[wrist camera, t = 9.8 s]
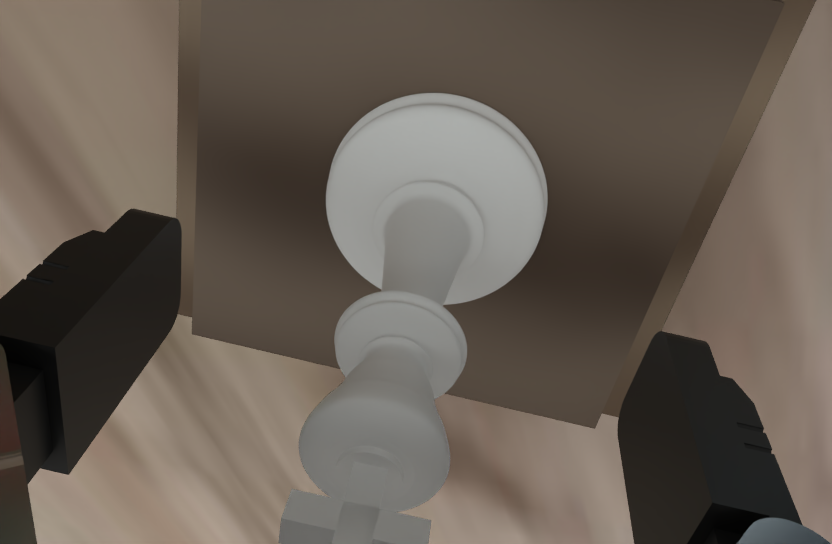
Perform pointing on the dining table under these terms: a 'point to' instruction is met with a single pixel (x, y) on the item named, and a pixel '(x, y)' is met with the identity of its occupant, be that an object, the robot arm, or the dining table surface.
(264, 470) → the dining table surface
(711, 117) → the walnut pedestal
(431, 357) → the chess piece
